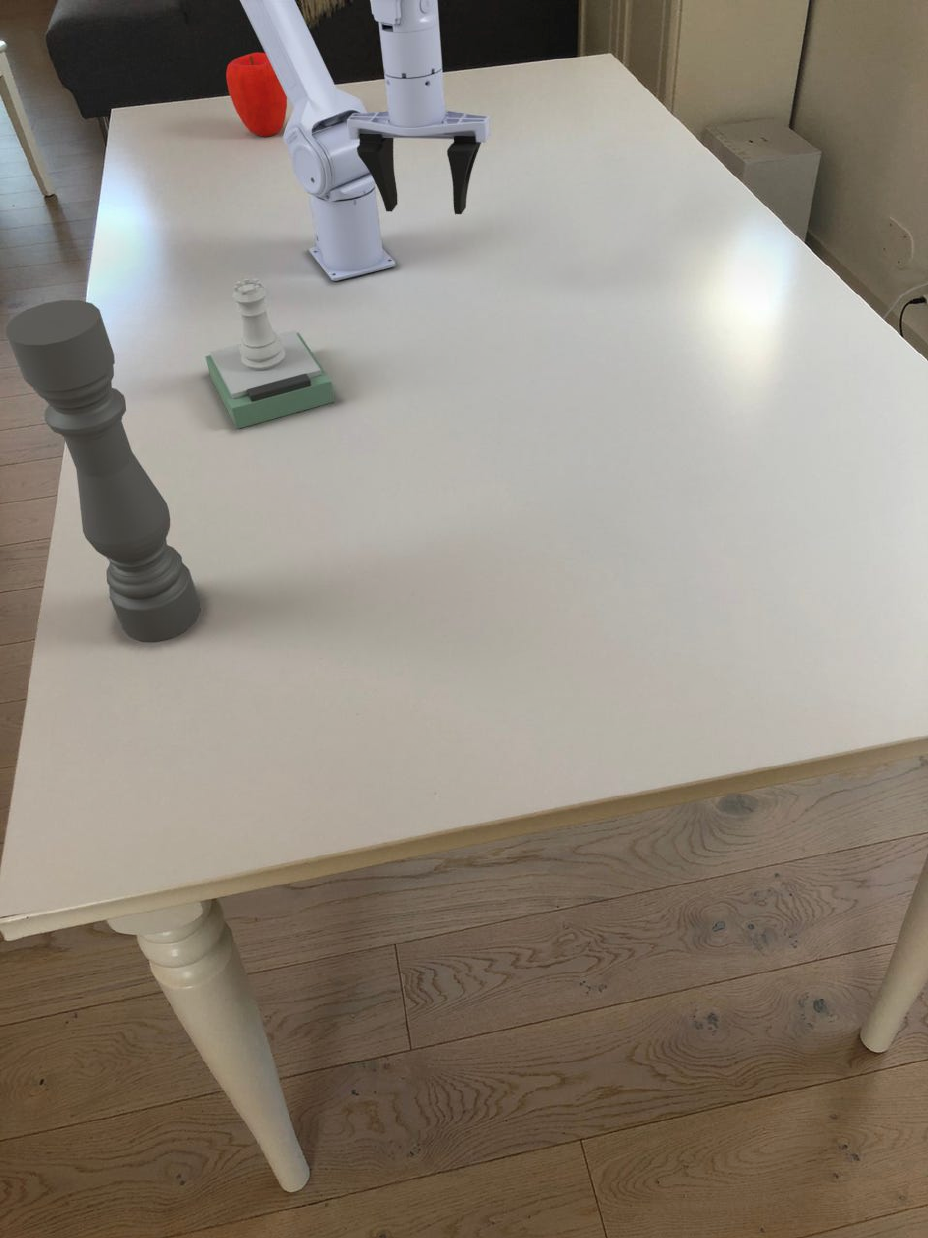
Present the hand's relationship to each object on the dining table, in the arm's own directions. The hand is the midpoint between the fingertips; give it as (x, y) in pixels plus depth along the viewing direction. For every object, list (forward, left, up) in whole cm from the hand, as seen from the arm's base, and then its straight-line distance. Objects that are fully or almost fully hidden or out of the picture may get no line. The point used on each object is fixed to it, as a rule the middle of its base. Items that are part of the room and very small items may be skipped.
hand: (425, 208), depth 108 cm
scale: (+10, -22, -10) cm, 26 cm away
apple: (-63, -2, -10) cm, 64 cm away
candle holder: (+38, -39, -10) cm, 56 cm away
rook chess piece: (+10, -22, -7) cm, 25 cm away
